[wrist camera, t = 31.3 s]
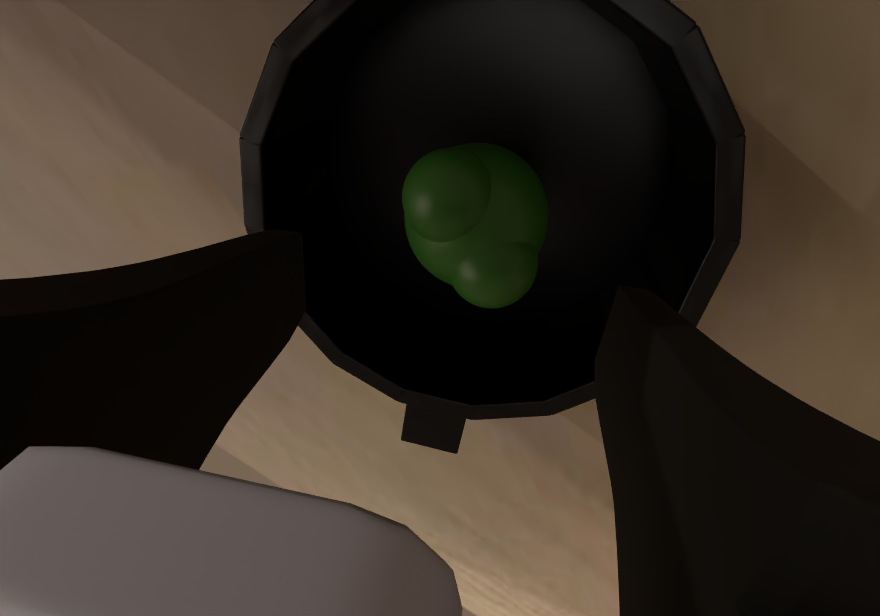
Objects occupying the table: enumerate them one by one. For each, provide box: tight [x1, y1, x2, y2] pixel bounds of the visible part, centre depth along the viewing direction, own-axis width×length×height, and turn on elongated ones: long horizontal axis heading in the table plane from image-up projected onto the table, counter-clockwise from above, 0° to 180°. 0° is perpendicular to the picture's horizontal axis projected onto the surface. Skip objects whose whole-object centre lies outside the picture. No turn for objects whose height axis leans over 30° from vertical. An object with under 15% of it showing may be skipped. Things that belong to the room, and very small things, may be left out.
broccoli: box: [402, 143, 549, 308], centre depth 16 cm, size 5×5×7 cm
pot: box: [240, 0, 746, 454], centre depth 17 cm, size 14×20×6 cm
